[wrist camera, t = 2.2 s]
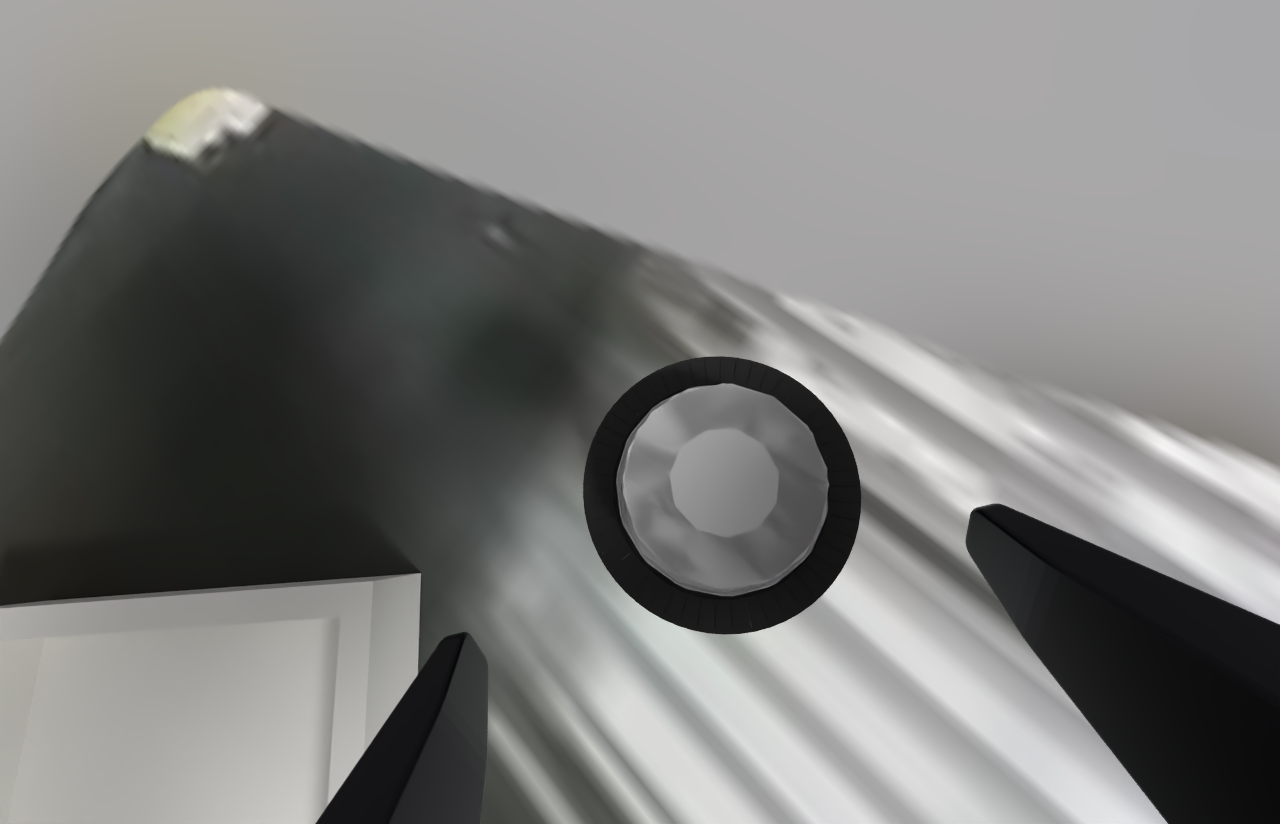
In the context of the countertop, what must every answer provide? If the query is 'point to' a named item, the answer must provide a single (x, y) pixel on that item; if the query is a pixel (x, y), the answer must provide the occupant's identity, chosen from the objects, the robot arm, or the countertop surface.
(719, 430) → the push button
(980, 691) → the countertop surface
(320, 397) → the countertop surface
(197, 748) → the tray
